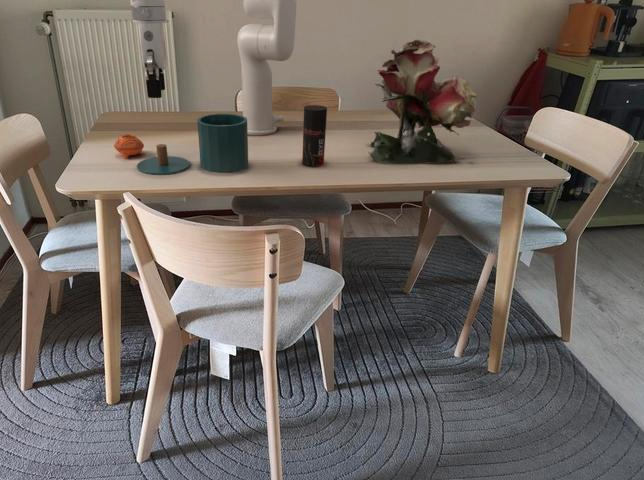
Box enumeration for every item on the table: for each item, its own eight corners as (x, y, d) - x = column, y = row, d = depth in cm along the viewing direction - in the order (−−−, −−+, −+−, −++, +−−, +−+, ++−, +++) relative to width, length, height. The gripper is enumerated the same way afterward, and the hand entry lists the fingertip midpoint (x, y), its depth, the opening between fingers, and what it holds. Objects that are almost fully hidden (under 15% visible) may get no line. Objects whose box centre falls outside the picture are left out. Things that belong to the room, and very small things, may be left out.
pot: (107, 157, 137) (108, 132, 135) (130, 157, 144) (130, 133, 142) (127, 162, 133) (127, 136, 131) (149, 161, 140) (150, 136, 138)
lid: (191, 159, 138) (189, 137, 135) (188, 176, 127) (186, 153, 123) (141, 160, 137) (138, 138, 134) (134, 177, 125) (130, 154, 122)
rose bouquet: (476, 164, 138) (502, 46, 123) (372, 165, 136) (386, 45, 121) (444, 137, 160) (462, 35, 145) (354, 138, 158) (364, 34, 143)
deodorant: (317, 168, 133) (320, 111, 125) (298, 164, 136) (299, 108, 128) (327, 162, 137) (331, 107, 130) (308, 158, 140) (311, 104, 132)
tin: (246, 158, 139) (245, 113, 133) (249, 174, 129) (248, 125, 122) (201, 159, 138) (198, 113, 132) (200, 175, 127) (196, 126, 121)
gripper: (162, 18, 106) (169, 101, 115) (168, 13, 121) (174, 87, 129) (126, 17, 105) (136, 101, 114) (137, 12, 120) (145, 87, 129)
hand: (156, 93), depth 122 cm, fingers open, 9 cm apart
